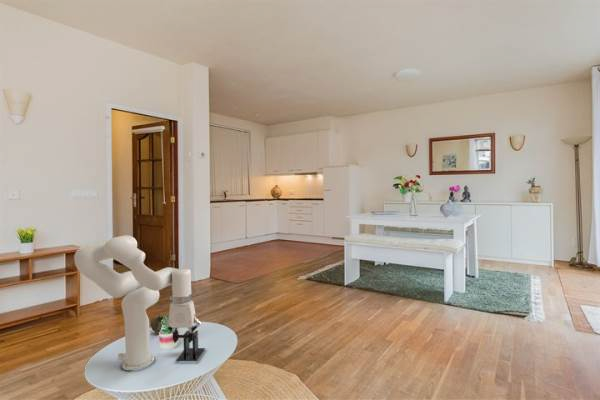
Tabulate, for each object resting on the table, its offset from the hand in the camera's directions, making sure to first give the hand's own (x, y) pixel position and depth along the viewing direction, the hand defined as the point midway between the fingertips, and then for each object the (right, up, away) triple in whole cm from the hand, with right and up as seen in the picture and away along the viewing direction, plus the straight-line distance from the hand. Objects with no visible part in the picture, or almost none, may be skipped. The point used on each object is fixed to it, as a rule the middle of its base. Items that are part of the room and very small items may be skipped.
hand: (183, 340), depth 143 cm
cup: (-25, -11, +34) cm, 43 cm away
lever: (0, -1, +4) cm, 4 cm away
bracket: (0, -11, +9) cm, 14 cm away
